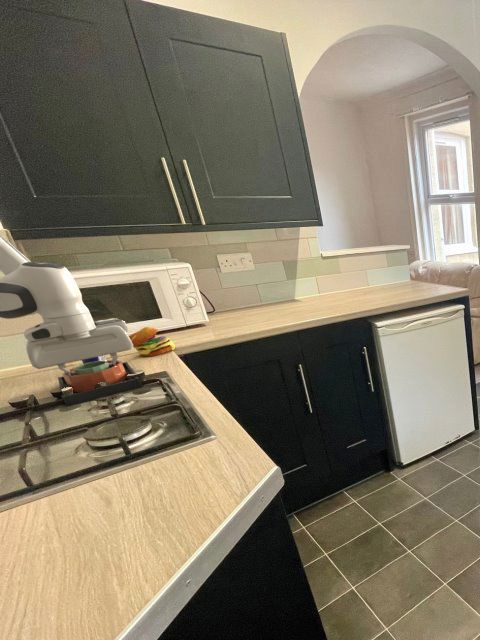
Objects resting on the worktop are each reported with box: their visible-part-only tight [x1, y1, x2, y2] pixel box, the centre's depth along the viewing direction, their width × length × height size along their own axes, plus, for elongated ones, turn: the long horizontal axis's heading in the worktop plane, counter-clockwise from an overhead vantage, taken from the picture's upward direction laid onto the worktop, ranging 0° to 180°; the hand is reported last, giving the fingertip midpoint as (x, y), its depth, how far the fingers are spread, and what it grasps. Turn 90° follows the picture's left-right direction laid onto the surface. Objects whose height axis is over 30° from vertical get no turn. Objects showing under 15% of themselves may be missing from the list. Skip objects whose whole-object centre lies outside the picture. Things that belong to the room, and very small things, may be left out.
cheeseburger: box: [128, 326, 176, 357], centre depth 141 cm, size 10×11×10 cm
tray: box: [57, 361, 143, 407], centre depth 117 cm, size 15×21×2 cm
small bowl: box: [73, 361, 110, 376], centre depth 116 cm, size 7×7×4 cm
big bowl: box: [62, 359, 127, 392], centre depth 116 cm, size 12×12×6 cm
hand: (94, 373), depth 116 cm, fingers closed on small bowl, 7 cm apart
